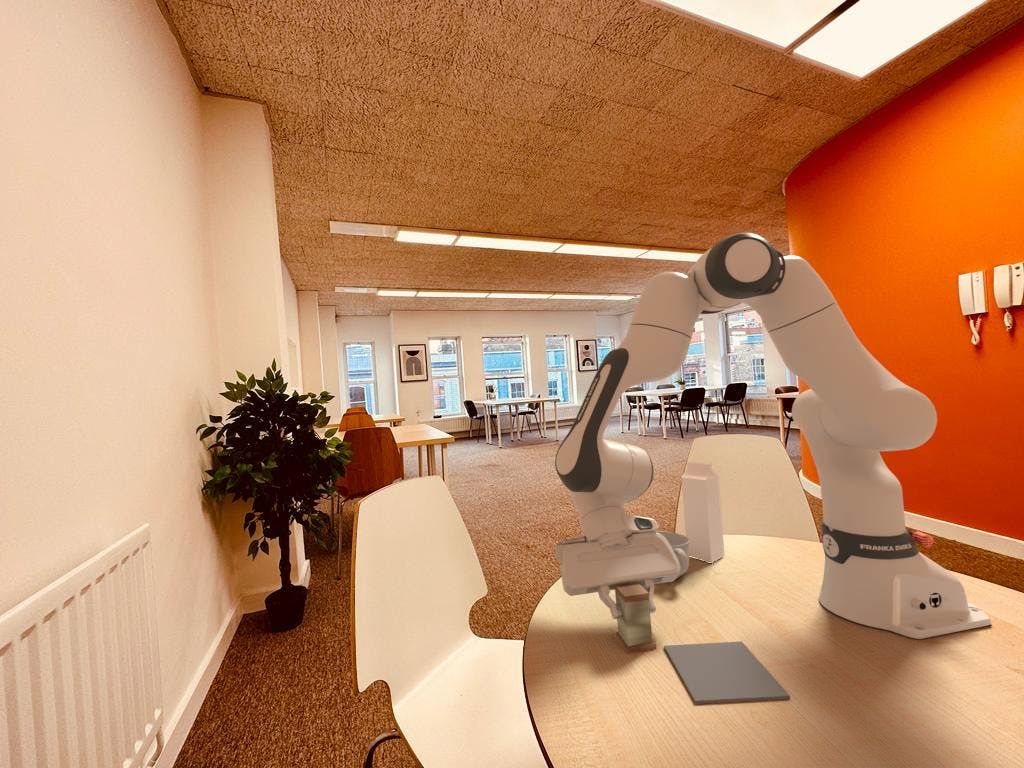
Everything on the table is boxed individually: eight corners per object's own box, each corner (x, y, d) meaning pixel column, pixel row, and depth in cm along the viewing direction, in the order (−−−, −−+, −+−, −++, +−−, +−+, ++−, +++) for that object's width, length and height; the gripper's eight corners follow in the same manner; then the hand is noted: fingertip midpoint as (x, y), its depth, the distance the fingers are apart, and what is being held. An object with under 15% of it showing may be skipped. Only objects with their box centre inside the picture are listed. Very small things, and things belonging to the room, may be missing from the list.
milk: (711, 564, 97) (704, 466, 97) (686, 557, 102) (679, 463, 102) (725, 556, 100) (718, 462, 101) (700, 550, 105) (693, 459, 106)
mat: (741, 644, 67) (741, 641, 67) (790, 698, 55) (789, 695, 55) (664, 648, 67) (664, 645, 67) (695, 703, 55) (695, 700, 55)
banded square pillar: (642, 632, 72) (638, 580, 72) (656, 648, 67) (652, 593, 68) (615, 636, 71) (611, 584, 72) (627, 653, 67) (623, 598, 67)
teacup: (633, 564, 99) (631, 529, 99) (681, 562, 99) (679, 527, 99) (651, 593, 85) (648, 552, 86) (706, 590, 85) (703, 549, 85)
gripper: (554, 532, 75) (575, 617, 65) (664, 518, 78) (699, 598, 68) (549, 548, 79) (568, 631, 69) (654, 535, 82) (686, 612, 73)
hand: (634, 614), depth 69 cm, fingers closed on banded square pillar, 4 cm apart
